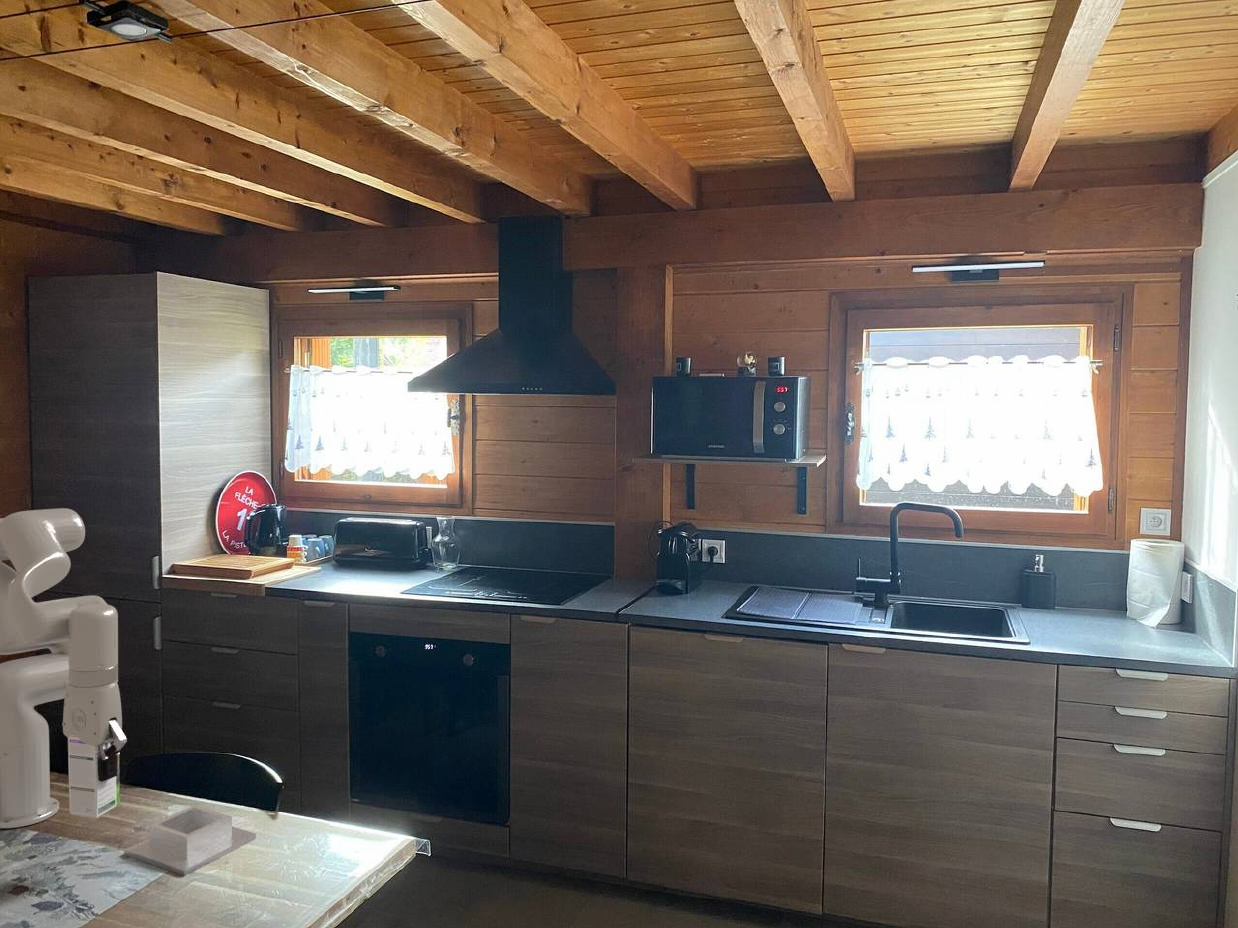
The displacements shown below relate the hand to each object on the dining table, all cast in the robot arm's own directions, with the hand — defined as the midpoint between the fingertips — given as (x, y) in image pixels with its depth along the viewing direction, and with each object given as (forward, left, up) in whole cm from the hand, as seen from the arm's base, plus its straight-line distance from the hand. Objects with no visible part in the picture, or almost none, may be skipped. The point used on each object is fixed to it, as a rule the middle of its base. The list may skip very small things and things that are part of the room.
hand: (94, 773), depth 166 cm
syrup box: (0, 0, -7) cm, 7 cm away
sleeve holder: (+8, +14, -18) cm, 24 cm away
